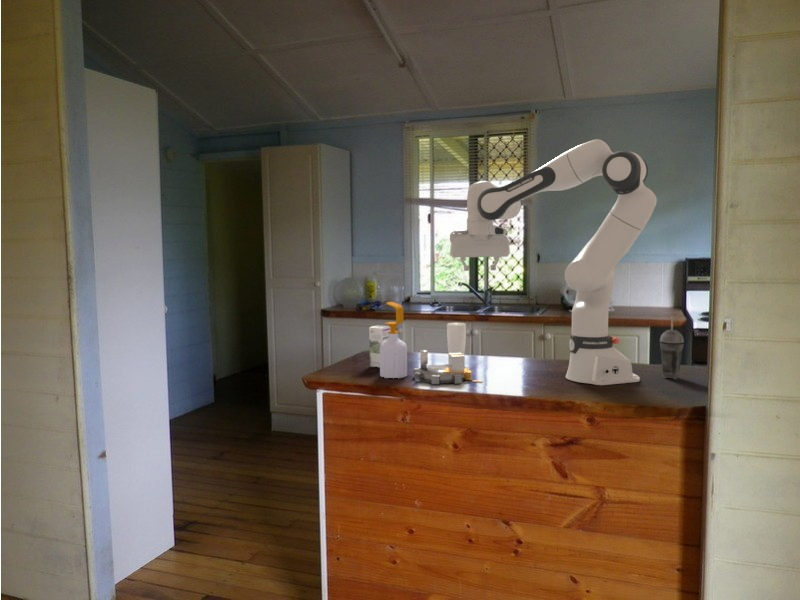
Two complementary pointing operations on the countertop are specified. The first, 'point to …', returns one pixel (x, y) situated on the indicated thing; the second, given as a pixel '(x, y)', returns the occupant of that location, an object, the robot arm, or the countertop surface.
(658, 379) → the countertop surface
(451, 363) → the marked link
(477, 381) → the timing mark
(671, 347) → the beverage cup
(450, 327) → the drinking glass
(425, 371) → the sprocket
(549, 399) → the countertop surface
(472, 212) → the robot arm
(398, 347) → the soap bottle
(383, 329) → the syrup box
